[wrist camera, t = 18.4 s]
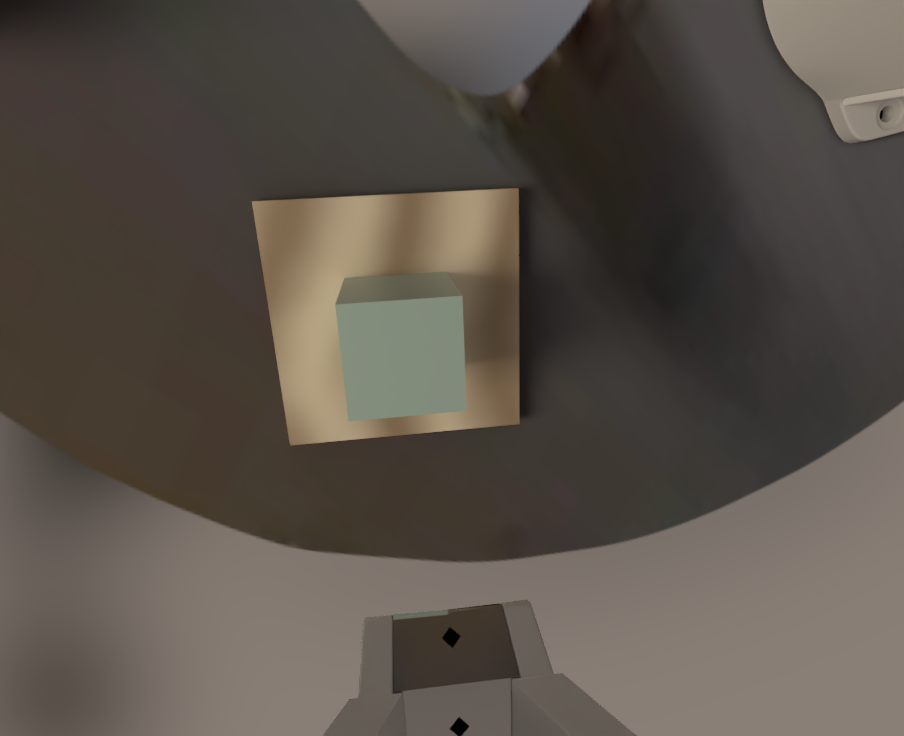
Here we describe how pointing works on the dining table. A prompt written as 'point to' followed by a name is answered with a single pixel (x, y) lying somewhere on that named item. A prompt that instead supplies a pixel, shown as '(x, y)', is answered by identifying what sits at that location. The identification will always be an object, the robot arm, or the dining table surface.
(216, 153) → the dining table surface
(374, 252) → the post board
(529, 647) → the robot arm
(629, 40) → the dining table surface
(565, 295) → the dining table surface
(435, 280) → the pale green cube
